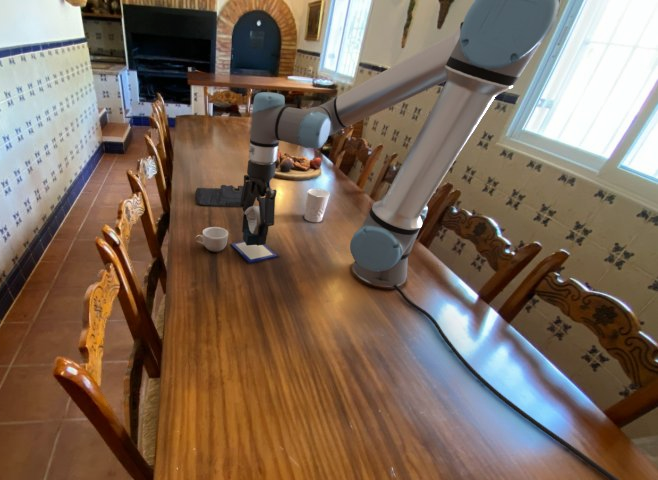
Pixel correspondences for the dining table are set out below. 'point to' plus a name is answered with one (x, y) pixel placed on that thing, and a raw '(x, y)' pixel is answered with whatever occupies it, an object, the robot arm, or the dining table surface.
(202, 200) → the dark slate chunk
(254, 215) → the watch
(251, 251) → the coaster
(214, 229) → the teacup
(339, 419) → the dining table surface
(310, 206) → the white cup
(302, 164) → the wooden plate
